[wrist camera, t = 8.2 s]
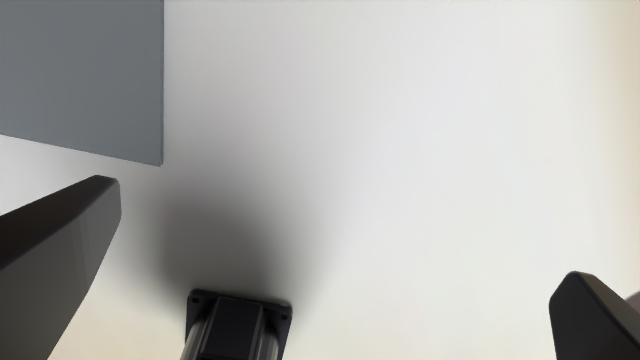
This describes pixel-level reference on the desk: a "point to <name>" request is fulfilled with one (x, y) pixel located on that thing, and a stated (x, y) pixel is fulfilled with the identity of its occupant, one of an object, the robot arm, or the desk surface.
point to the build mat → (84, 75)
